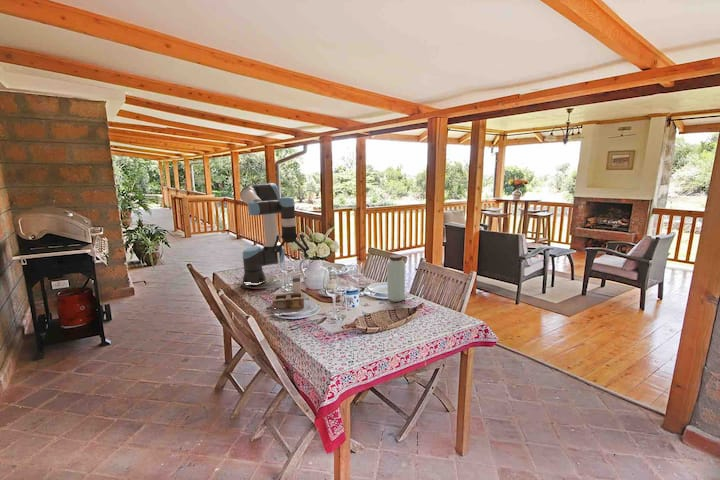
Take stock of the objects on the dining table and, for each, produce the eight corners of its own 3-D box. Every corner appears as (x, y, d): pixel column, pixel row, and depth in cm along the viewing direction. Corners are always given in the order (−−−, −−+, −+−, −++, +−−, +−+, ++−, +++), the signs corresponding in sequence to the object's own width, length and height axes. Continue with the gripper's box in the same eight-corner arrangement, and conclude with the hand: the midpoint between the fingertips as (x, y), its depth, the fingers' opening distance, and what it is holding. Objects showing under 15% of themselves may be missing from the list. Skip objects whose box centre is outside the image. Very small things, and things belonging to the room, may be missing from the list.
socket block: (274, 304, 197) (274, 294, 196) (304, 302, 199) (303, 291, 198) (273, 312, 187) (272, 301, 186) (304, 309, 190) (303, 298, 188)
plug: (294, 296, 206) (292, 276, 204) (301, 295, 207) (299, 276, 204) (294, 298, 202) (292, 278, 200) (301, 298, 203) (299, 278, 200)
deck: (289, 296, 209) (289, 294, 209) (306, 295, 210) (306, 293, 210) (288, 302, 199) (288, 301, 199) (306, 301, 201) (306, 299, 200)
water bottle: (384, 301, 198) (384, 257, 192) (390, 294, 207) (389, 253, 201) (402, 303, 194) (402, 259, 188) (407, 296, 203) (406, 254, 198)
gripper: (264, 228, 186) (267, 266, 191) (312, 225, 189) (314, 263, 194) (266, 225, 194) (269, 263, 198) (312, 223, 197) (314, 260, 201)
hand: (291, 263), depth 196 cm, fingers open, 13 cm apart
